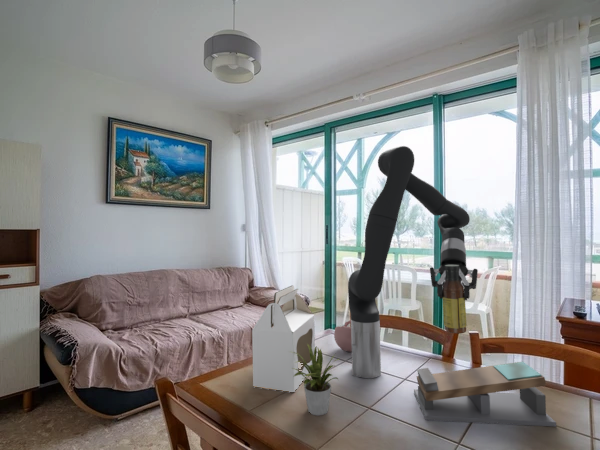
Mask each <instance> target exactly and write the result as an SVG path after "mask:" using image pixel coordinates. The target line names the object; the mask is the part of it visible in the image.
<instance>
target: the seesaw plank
mask: <svg viewBox="0 0 600 450" xmlns="http://www.w3.org/2000/svg"><path fill="white" fill-rule="evenodd" d="M416 379H417V380H416V381H417V386H419V387H420V389H421V391H422V393H423V395H424V397H425V399H426V401H432V400H440V399H448V398H455V397H463V396H471V395H479V394H486V393H494V392H496V393H503V392H510V391H515V390H520V389H525V388H533V387H536V388H538V387H546V386H547V383H546V382H547V381H546V378H545V376H543V375H542V374H541V373H539V371H537V370H536V369H534V368H533V367H532V366H530V365H529V364H527V363H526V362H525V361H517V362H516V361H515V362H509V363H502V364H501V363H500V364H495V365H487V366H482V367H481V366H480V367H474V368H466V369H459V370H449V371H443V372H437V373H432V372H431V370H430V368H429V367H425V368H424V367H423V368H417V376H416Z"/></svg>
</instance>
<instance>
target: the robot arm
mask: <svg viewBox="0 0 600 450" xmlns="http://www.w3.org/2000/svg"><path fill="white" fill-rule="evenodd" d="M377 166H378V169H379V171H380V172H381V173H382V175H384V176H386V181H385V183H384V186H383V188H382V190H381V192H380V193H379V194H378V197H377V198H376V199H375V201H374V202H373V204H372V205H371V208H370V211H369V212H368V213H369V214H368V217H367V220H366V224H365V231H364V256H363V260H362V263H361V266H360V269H357V270H355V271H353V272H352V273H351V274H350V276H349V278H348V284H347V291H348V292H347V293H348V294H347V295H348V308H349V312H350V320H351V323H350V327H351V339H352V340H351V345H352V352H351V372H352V376H355V377H359V378H364V379H372V378H373V379H374V378H378V377H379V376H381V374H382V364H381V363H382V362H381V360H382V358H381V325H380V323H381V322H380V310H379V309H378V306H377V301H376V298H378V297H379V295H380V294H381V292H382V288H383V283H384V276H385V269H386V265H387V263H386V262H387V258H388V255H389V251H390V248H391V246H392V245H391V244H392V240H393V237H394V233H395V230H396V227H397V223H398V217H399V213H400V210H401V206H402V201H403V199H404V195H405V191H406V192H408V193H409V194H411V196H412V197H414V198H415V199H416V200H417V201H419V203H421V205H422V206H423V207H424V208H425V209H426V210H428V211H429V213H431V215H434V216H435V217H438V216H439V217H438V219H437V221H436V224H437V226H438V228H439V232H440V234H441V247H440V248H441V249H440V265H439V267H438V268H434V267H432V266H431V267H429V271H430V274H429V275H430V279H431V281H430V282H431V286H432V288H436V289H437V290H436V291H437V292H436V293H437V297H438V298H439V299H442V300H443V297H442V292H443V285H444V283H445V280H446V271H445V265H459V278H460V282H461V283H462V285H463V287H464V300H465V301H468V299H470V297H471V296H470V294H471V293H470V290H475V289H477V281H478V275H479V273H478V271H479V270H478V269H477V268H473V269H468V267H467V252H466V250H467V249H466V245H465V234H464V233H465V232H463V230H462V228H464V227H466V226H467V225H469V224H470V215H469V213H468V212H467V211H466V210H465V209H464V208H463V207H461V206H459V205H458V204H456V203H454V202H452V201H450V200H449V199H447V198H446V197H445V196H444V195H443V194H442V192H440V190H438V189H437V188H436V187H435V186H433V185H432V184H430V183H429V182H426V181H425V180H423V179H421V178H419V177H418V176H416V175H415V174H414V173H412V172H413V170H414V166H415V155H414V152H413V151H412V149H411V148H410V147H409V146H405V145H403V146H402V145H401V146H396V147H394V148H390V149H387V150H385V151H383V152H382V153H381V154H380V155H379V157H378V159H377ZM438 274H439V275H440V278H439V279H438V281H437V280H436V277H437V275H438ZM468 275H469V277H470V278H471V282H469V281H468V279H467V278H466V277H467V276H468Z"/></svg>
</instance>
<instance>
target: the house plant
mask: <svg viewBox="0 0 600 450" xmlns="http://www.w3.org/2000/svg"><path fill="white" fill-rule="evenodd" d="M307 345H308V344H307ZM308 348H309V352H310V358H311V361H312V365H310V366H308V365H307V363H306V362H305V360H304V359H303V358H302V357H301V356H300V355H299V354H298V355H299V356H300V357H301V358H302V359H303V360H304V362H305V363H304V362H303V363H304V364H305V365H304V364H302V365H304V366H305V368H306V369H307V370H308V372H309V374H305V373H303V372H300V371H299V370H297V369H295V368H293V369H295V370H297V371H298V373H296V374H295V375H294V376H297V375H300V374H301V375H302V376H303V377H305V376H306V377H305V379H304V378H302V379H304V380H303V382H304V384H303V388H304V394H305V400H306V405H307V411H308V413H309V412H310V413H311V414H310V413H309V414H310V415H313V416H323V415H326V414H327V413H328V412H329V407H330V398H331V392H332V385H331V383H330V381H331V380H332V381H333V379H335V380H338V381H339V378H338V377H333V374H332V373H328V371H329V370H330V369H331V368H333V367H334V365H333V364H331V361H332V360H333V358H335V357H334V356H335V355H336V354H337V353H336V352H335V354H334V355H333V356H332V357H331V358H330V360H329V362H328V363H327V364H326V366H325V368H324V370H323V361H324V360H323V359H324V358H323V357H324V356H323V352H322V348H320V349H319V348H318V347H317V346H316V345H315V350H314V355H313V351H312V348H311V347H310V346H309V345H308ZM292 353H295V352H292ZM296 354H297V353H296ZM298 355H297V356H298ZM338 360H339V358H337V359H335V360H334V362H336V361H338ZM297 362H301V361H297ZM294 363H295V362H294ZM329 364H330V365H329ZM307 367H308V368H307ZM309 370H310V371H309ZM322 370H323V373H322ZM303 374H305V375H303ZM294 376H293V377H294ZM331 376H332V378H330V379H329V377H331ZM328 379H329V380H328Z"/></svg>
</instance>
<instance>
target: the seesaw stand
mask: <svg viewBox="0 0 600 450" xmlns="http://www.w3.org/2000/svg"><path fill="white" fill-rule="evenodd" d="M413 393H414V396H415V398H416V401H417V402H418V405H419V408H420V410H421V412H422V415H423V417H424V419H425V421H434V422H435V421H438V422H439V421H441V422H456V423H457V422H459V423H460V422H461V423H474V424H475V423H476V424H477V423H478V424H479V423H481V424H497V425H498V424H500V425H518V426H520V425H521V426H534V427H535V426H537V427H538V426H539V427H557V422H556V420H554V419H553V418H552V417H551V416H550V415H549V414H548V413H547V408H546V406H547V404H546V394H544V392H542V391H541V390H539V389H538V387H533V388H525V389H519V392H517V393H516V392H514V393H513V392H494V393H486V394H479V395H471V396H463V397H455V398H448V399H440V400H432V401H426V399H425V397H424V395H423V393H422V391H421V389H420V387H419V385H417V389H413Z"/></svg>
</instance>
